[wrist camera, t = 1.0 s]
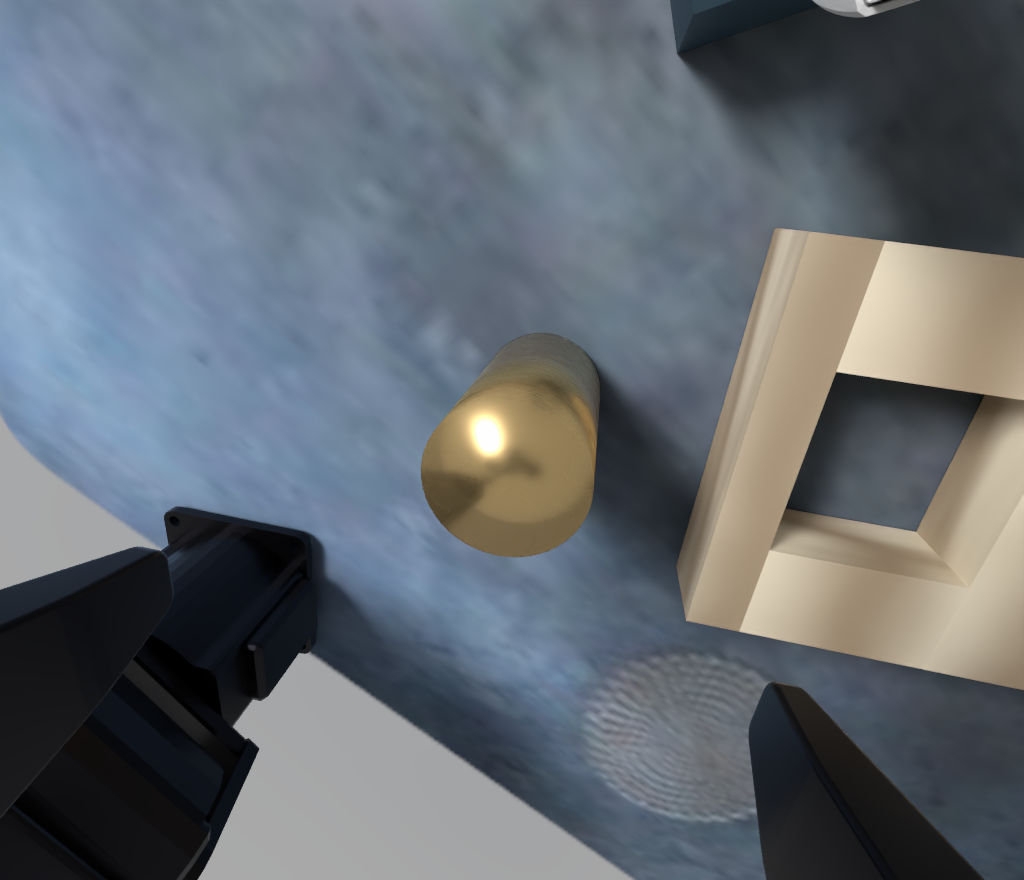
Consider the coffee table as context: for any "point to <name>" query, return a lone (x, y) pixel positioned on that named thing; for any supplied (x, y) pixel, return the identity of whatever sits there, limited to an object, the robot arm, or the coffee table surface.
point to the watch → (754, 15)
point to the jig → (851, 544)
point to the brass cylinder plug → (518, 450)
